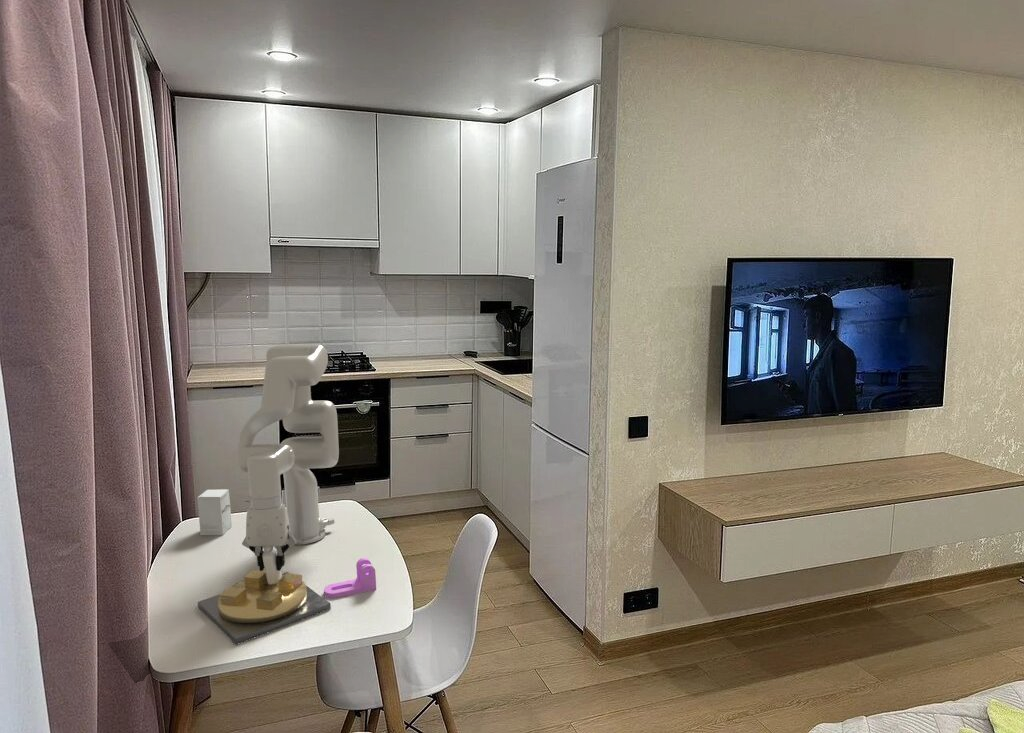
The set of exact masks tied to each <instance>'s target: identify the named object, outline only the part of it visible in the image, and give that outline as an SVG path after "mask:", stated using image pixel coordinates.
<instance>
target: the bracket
mask: <svg viewBox="0 0 1024 733" xmlns="http://www.w3.org/2000/svg"><path fill="white" fill-rule="evenodd" d="M355 566H356V578H355V579H350V580H345V581H340V582H335V583H331V584H328V585H326V586H325V587H324V588H323V595H325V596H326V598H329V599H335V598H342V597H347V596H350V595H355V594H360V593H365V592H369V590H370V591H374V590H377V577H376V568H375V567H374V566H373V564H372V562H371V560H370V559H369V558H367V557H362V558H359V559H358V560H357V562H356V564H355ZM325 596H324V597H325Z"/></svg>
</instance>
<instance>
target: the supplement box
mask: <svg viewBox="0 0 1024 733" xmlns="http://www.w3.org/2000/svg"><path fill="white" fill-rule="evenodd" d="M196 498H197V500H196V501H197V509H198V510H197V511H198V520H199V521H198V522H199V530H200V531H199V532H200V536H224V535H225V534H226V532H227V531H228V530H229V529H230V528H232V526H233V523H232V511H231V499H230V490H229V489H228V488H227V489H226V488H225V489H224V488H221V489H206V490H205V491H203V492H201V494H200V495H199V496H197V497H196Z"/></svg>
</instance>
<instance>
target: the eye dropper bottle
mask: <svg viewBox="0 0 1024 733" xmlns="http://www.w3.org/2000/svg"><path fill="white" fill-rule="evenodd" d="M276 556H277V549H276V547H275V546H268V547H263V555H262V557H263V563H264V571H265V573H266V578H267V582H268V584H276V583H278V580H279V579H281V578H282V569H281V570H280V571H278V570H277V564H276Z"/></svg>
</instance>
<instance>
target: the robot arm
mask: <svg viewBox="0 0 1024 733" xmlns="http://www.w3.org/2000/svg"><path fill="white" fill-rule="evenodd" d="M265 356H266V365H265V372H264V376H263V377H264V378H263V384H262V387H263V388H262V394H261V403H260V404H261V405H260V407H259V408H258V409H257V410H256V411H255V412H254V413H253V414H252V415H251V416H250V417H249V418H248V420H246V422H245V423H244V425H243V426H242V429H241V430H240V433H239V437H238V444H237V450H236V465H237V468H238V470H239V471H240V472H241V473H243V474H247V478H248V490H249V496H245V497H244V503H249V506H248V507H247V510H246V519H245V520H246V522H245V524H246V525H245V537H244V539H243V540H242V543H241V544H242V546H244V547H246V548H248V549H249V550H250V551H251V552H252V553H253V554H254V556H255V557H256V562H257V567H259V570H260V571H265V568H264V563H263V557H262V555H263V552H264V548H263V547H268V546H273V547H275V548H276V550H277V556H276V564H277V570H278V571H280V570H281V571H282V569H283V567H284V566H285V562H286V560H285V552H286V551H288V549H290V548H292V547H294V546H295V545H296V546H297V545H299V546H300V545H308V544H312V543H317V542H318V541H320V540H322V539H324V537H325V536H326V529H325V528H326V527H327V526H332V525H334V524H335V519H334V517H331V518H328V519H327V518H326V517H323V518H320V510H319V509H320V508H319V496H318V491H319V490H318V481H317V478H316V476H315V474H314V473H313V472H312V471H311V470H310V469H326V468H329V469H330V468H333V467H335V466H336V465H337V463H338V462H339V457H340V456H339V455H340V448H339V447H340V446H339V427H338V426H339V425H338V424H339V423H338V413H337V408H336V406H335V403H333V402H332V401H329V400H321V399H320V400H313V399H312V394H311V392H312V391H311V387H312V386H315V385H317V384H318V383H319V382H320V380H321V378H322V376H323V375H324V373H325V371H326V369H327V368H328V367H327V366H328V364H329V363H328V361H329V355H328V351H327V349H326V348H325V347H324V346H323V345H322V344H318V343H317V344H282V345H281V344H280V345H279V344H278V345H274V346H272V347H270V348H268V349H267V351H266V354H265ZM279 421H282V426H283V428H284V429H285V431H287V432H289V433H294V434H295V433H296V434H297V433H298V434H299V433H300V434H301V433H304V434H305V433H320V434H321V435H320V436H292V437H288V438H285V439H284V440H282V441H281V442H280V443H268V444H265V443H263V444H262V443H261V444H259V443H258V444H253V442H254V440H255V438H256V436H257V435H258V434H259V433H260V432H261V431H262V430H264V429H265V428H267V427H269V426H270V425H273V424H275V423H277V422H279ZM281 475H283V484H284V486H283V487H284V495H285V496H284V498H285V503H284V502H283V500H282V487H281V477H280V476H281Z"/></svg>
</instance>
